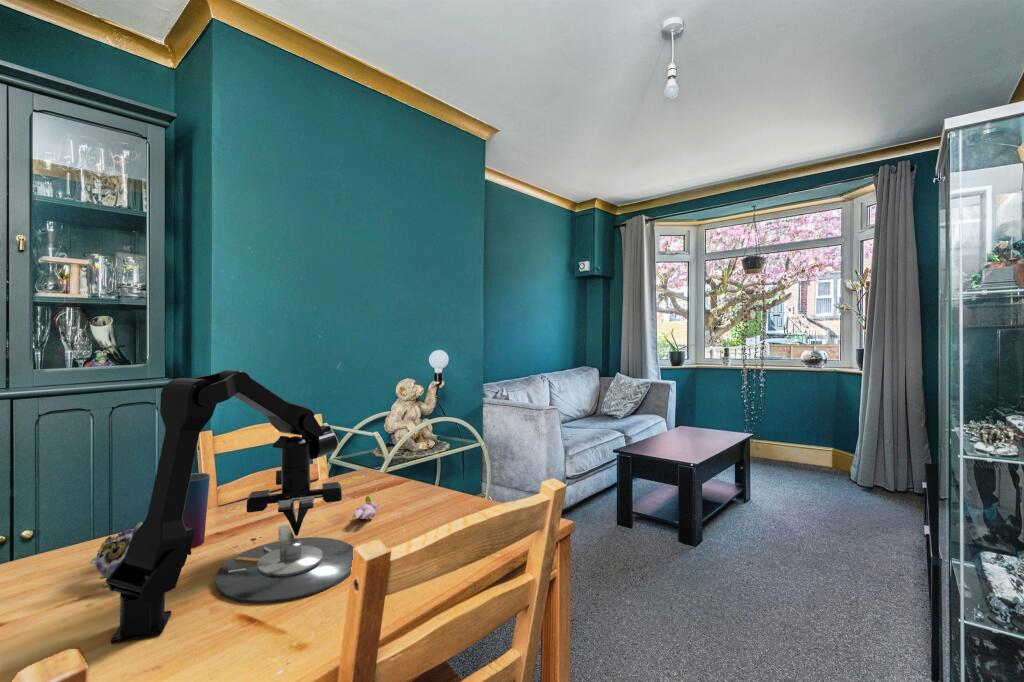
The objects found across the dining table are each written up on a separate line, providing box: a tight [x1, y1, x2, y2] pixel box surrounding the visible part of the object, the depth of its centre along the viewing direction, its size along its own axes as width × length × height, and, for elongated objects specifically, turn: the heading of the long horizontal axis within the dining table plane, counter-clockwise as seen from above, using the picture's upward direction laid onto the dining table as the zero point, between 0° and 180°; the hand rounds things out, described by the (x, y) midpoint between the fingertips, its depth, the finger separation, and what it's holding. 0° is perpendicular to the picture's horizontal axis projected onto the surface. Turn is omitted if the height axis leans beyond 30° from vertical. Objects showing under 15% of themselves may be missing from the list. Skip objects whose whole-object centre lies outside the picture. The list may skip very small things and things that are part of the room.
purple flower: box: [353, 494, 382, 520], centre depth 127 cm, size 6×6×15 cm
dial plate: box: [214, 536, 355, 604], centre depth 99 cm, size 26×26×1 cm
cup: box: [183, 472, 211, 549], centre depth 109 cm, size 7×7×15 cm
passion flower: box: [89, 521, 143, 588], centre depth 95 cm, size 11×11×12 cm
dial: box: [257, 523, 323, 576], centre depth 101 cm, size 17×12×4 cm
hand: (296, 535), depth 108 cm, fingers closed
